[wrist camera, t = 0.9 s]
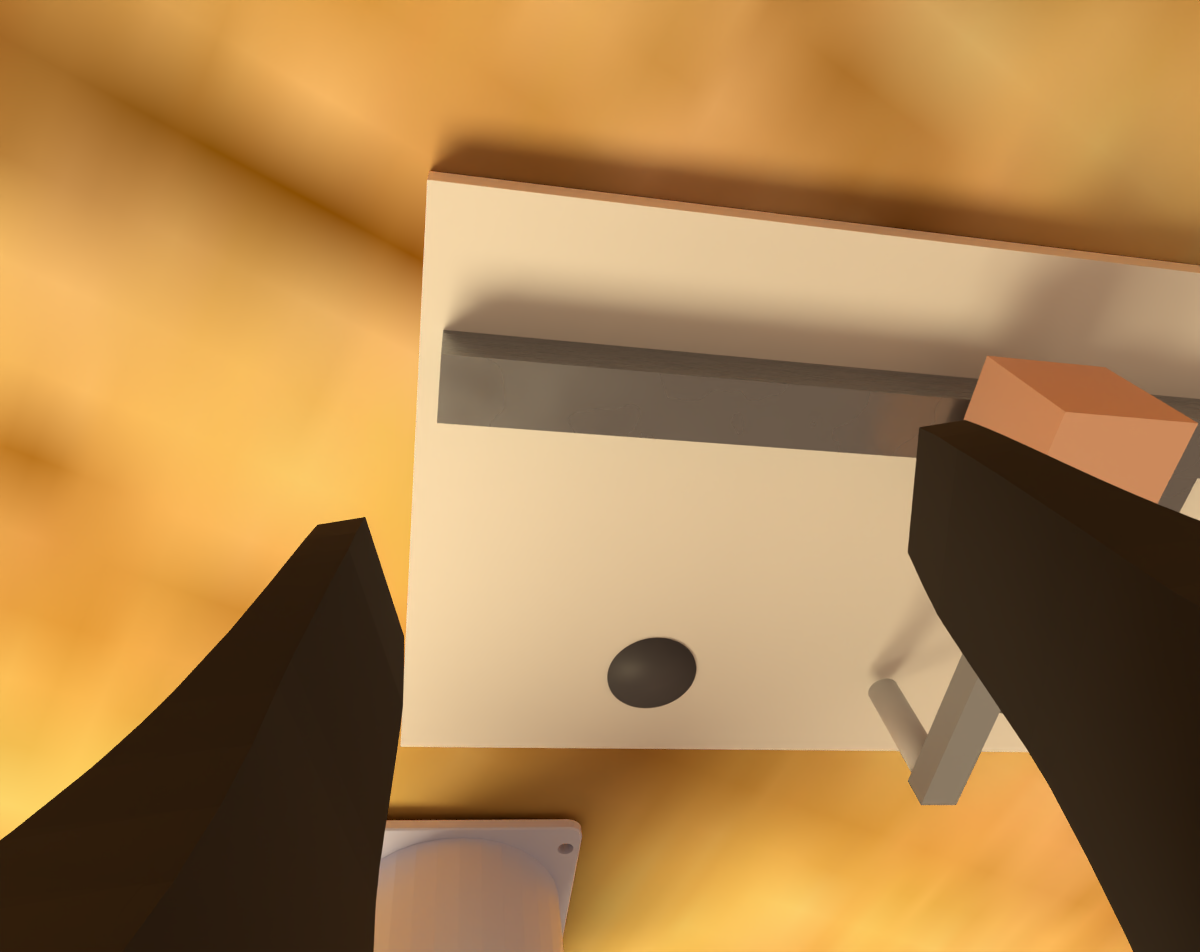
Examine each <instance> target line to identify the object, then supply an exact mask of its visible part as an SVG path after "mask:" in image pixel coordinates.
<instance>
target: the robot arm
mask: <svg viewBox="0 0 1200 952" xmlns="http://www.w3.org/2000/svg"><path fill="white" fill-rule="evenodd" d="M908 554H909V557H910V559H911V561H912V563H913V565H914V567H915V570H916V572H917V574H918V576H919V578H920V581H921V583H922V585H923V587H924V589H925V591H926V593H927V595H928V597H929V599H930V601H931V603H932V605H933V607H934V609H935V611H936V613H937V615H938V617H939V618H940V620H941V621H942V623H943V625H944V626H945V628H946V629H947V631H948V632H949V634H950V635H951V637H952V638H953V640H954V641H955V643H956V644H957V646H958V648H959V649H960V651H961V652H962V654H963V655H964V657H965V658H966V660H967V661H968V663H969V664H970V666H971V667H972V669H973V670H974V672H975V673H976V675H977V676H978V678H979V679H980V681H981V682H982V683H983V685H984V686H985V688H986V689H987V691H988V692H989V694H990V695H991V697H992V698H993V700H994V701H995V703H996V704H997V706H998V707H999V709H1000V710H1001V712H1002V713H1003V715H1004V716H1005V718H1006V719H1007V721H1008V722H1009V724H1010V725H1011V727H1012V728H1013V730H1014V731H1015V732H1016V734H1017V735H1018V737H1019V738H1020V740H1021V741H1022V743H1023V744H1024V746H1025V747H1026V749H1027V750H1028V752H1029V753H1030V755H1031V757H1032V758H1033V760H1034V762H1035V763H1036V765H1037V766H1038V768H1039V770H1040V771H1041V773H1042V775H1043V776H1044V778H1045V780H1046V781H1047V783H1048V784H1049V786H1050V788H1051V790H1052V792H1053V794H1054V796H1055V797H1056V799H1057V801H1058V803H1059V805H1060V807H1061V809H1062V811H1063V813H1064V814H1065V816H1066V818H1067V820H1068V822H1069V824H1070V826H1071V828H1072V830H1073V831H1074V833H1075V835H1076V837H1077V839H1078V841H1079V843H1080V845H1081V847H1082V849H1083V850H1084V852H1085V854H1086V856H1087V858H1088V860H1089V862H1090V864H1091V866H1092V868H1093V870H1094V872H1095V874H1096V876H1097V878H1098V880H1099V882H1100V884H1101V886H1102V888H1103V890H1104V892H1105V894H1106V896H1107V898H1108V900H1109V902H1110V904H1111V906H1112V908H1113V910H1114V913H1115V915H1116V917H1117V919H1118V921H1119V923H1120V925H1121V927H1122V929H1123V931H1124V933H1125V935H1126V937H1127V939H1128V941H1129V943H1130V946H1131V948H1132V950H1133V952H1200V521H1199V520H1197V519H1194V518H1192V517H1189V516H1187V515H1184V514H1182V513H1179V512H1177V511H1174V510H1172V509H1169V508H1167V507H1164V506H1161V505H1159V504H1156V503H1154V502H1152V501H1149V500H1147V499H1145V498H1142V497H1140V496H1137V495H1135V494H1133V493H1130V492H1128V491H1126V490H1123V489H1121V488H1119V487H1117V486H1114V485H1112V484H1110V483H1107V482H1105V481H1103V480H1101V479H1098V478H1096V477H1094V476H1092V475H1090V474H1087V473H1085V472H1083V471H1081V470H1079V469H1076V468H1074V467H1072V466H1070V465H1068V464H1065V463H1063V462H1061V461H1059V460H1057V459H1055V458H1052V457H1050V456H1048V455H1046V454H1044V453H1042V452H1039V451H1037V450H1035V449H1033V448H1031V447H1029V446H1026V445H1024V444H1022V443H1020V442H1018V441H1016V440H1013V439H1011V438H1009V437H1007V436H1004V435H1002V434H1000V433H998V432H995V431H993V430H991V429H988V428H986V427H983V426H981V425H978V424H975V423H973V422H970V421H967V420H961V421H955V422H949V423H943V424H937V425H930V426H924V427H919V434H918V445H917V455H916V466H915V477H914V488H913V499H912V510H911V520H910V531H909V542H908ZM403 690H404V635H403V632H402V629H401V626H400V623H399V620H398V616H397V613H396V610H395V607H394V604H393V601H392V598H391V595H390V592H389V589H388V586H387V583H386V580H385V576H384V573H383V570H382V567H381V564H380V561H379V558H378V555H377V552H376V549H375V546H374V543H373V540H372V536H371V533H370V530H369V527H368V524H367V521H366V518H365V517H363V518H357V519H351V520H344V521H338V522H332V523H326V524H320V525H317V526H316V527H315V528H314V530H313V531H312V532H311V533H310V534H309V535H308V536H307V538H306V539H305V540H304V541H303V542H302V544H301V545H300V546H299V547H298V549H297V550H296V551H295V552H294V554H293V555H292V556H291V557H290V559H289V560H288V561H287V562H286V563H285V565H284V566H283V567H282V568H281V570H280V571H279V572H278V573H277V575H276V576H275V577H274V578H273V580H272V581H271V582H270V583H269V585H268V586H267V587H266V588H265V589H264V591H263V592H262V593H261V594H260V595H259V597H258V598H257V599H256V600H255V601H254V603H253V604H252V605H251V606H250V607H249V608H248V610H247V611H246V612H245V613H244V614H243V616H242V617H241V618H240V619H239V620H238V622H237V623H236V624H235V625H234V626H233V628H232V629H231V630H230V631H229V632H228V633H227V634H226V635H225V636H224V638H223V639H222V640H221V641H220V642H219V643H218V644H217V645H216V646H215V647H214V648H213V649H212V651H211V652H210V653H209V654H208V655H207V656H206V657H205V658H204V659H203V660H202V661H201V662H200V664H199V665H198V666H197V667H196V668H195V669H194V670H193V671H192V672H191V673H190V674H189V675H188V677H187V678H186V679H185V680H184V681H183V682H182V683H181V684H180V685H179V686H178V687H177V688H176V689H175V690H174V691H173V692H172V693H171V694H170V695H169V696H168V697H167V698H166V699H165V701H164V702H163V703H162V704H161V705H159V706H158V707H157V708H156V709H155V710H154V711H153V712H152V713H151V714H150V715H149V716H148V717H147V718H146V719H145V720H144V721H143V722H142V723H141V724H140V725H139V726H137V727H136V728H135V729H134V730H133V731H132V732H131V733H130V734H129V735H128V736H126V737H125V738H124V739H123V740H122V741H121V742H120V743H119V744H118V745H117V746H115V747H114V748H113V749H112V750H111V751H110V752H109V753H108V754H107V755H106V756H104V757H103V758H102V759H101V760H100V761H99V762H97V763H96V764H95V765H94V766H93V767H92V768H91V769H89V770H88V771H87V772H86V773H84V774H83V775H82V776H81V777H79V778H78V779H77V780H76V781H74V782H73V783H72V784H71V785H69V786H68V787H67V788H66V789H64V790H63V791H62V792H61V793H59V794H58V795H57V796H56V797H55V798H53V799H52V800H51V801H50V802H48V803H47V804H46V805H45V806H43V807H42V808H41V809H40V810H38V811H37V812H36V813H35V814H33V815H32V816H31V817H30V818H28V819H27V820H26V821H25V822H23V823H22V824H21V825H20V826H18V827H17V828H16V829H15V830H13V831H12V832H11V833H9V834H8V835H7V836H5V837H4V838H3V839H1V840H0V952H564V951H563V940H562V939H563V934H564V929H565V924H566V918H567V913H568V908H569V903H570V898H571V892H572V887H573V882H574V877H575V872H576V866H577V861H578V856H579V851H580V845H581V840H582V832H581V825H580V824H579V823H578V822H576V821H574V820H570V819H520V820H387V814H388V807H389V801H390V794H391V787H392V781H393V774H394V767H395V761H396V753H397V746H398V739H399V732H400V725H401V718H402V710H403ZM566 843H567V844H566Z"/></svg>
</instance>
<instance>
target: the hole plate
mask: <svg viewBox="0 0 1200 952" xmlns="http://www.w3.org/2000/svg"><path fill="white" fill-rule="evenodd" d="M443 330H451V331H462V332H473V333H484V334H495V335H506V336H517V337H528V338H539V339H550V340H560V341H571V342H582V343H593V344H604V345H615V346H626V347H637V348H648V349H659V350H670V351H681V352H692V353H703V354H713V355H724V356H735V357H746V358H757V359H768V360H779V361H790V362H801V363H812V364H823V365H834V366H845V367H855V368H866V369H877V370H888V371H899V372H910V373H921V374H932V375H943V376H954V377H965V378H976V379H979V376H980V373H981V371H982V368H983V365H984V363H985V360H986V357H987V356H995V357H1006V358H1016V359H1026V360H1037V361H1047V362H1057V363H1068V364H1078V365H1088V366H1099V367H1106V368H1107V369H1109V370H1111V371H1112V372H1114V373H1116V374H1117V375H1119V376H1121V377H1122V378H1124V379H1126V380H1127V381H1129V382H1131V383H1132V384H1134V385H1136V386H1137V387H1139V388H1141V389H1142V390H1144V391H1146V392H1147V393H1149V394H1151V395H1161V396H1172V397H1183V398H1194V399H1200V265H1192V264H1184V263H1176V262H1168V261H1160V260H1151V259H1143V258H1135V257H1127V256H1119V255H1111V254H1102V253H1094V252H1086V251H1078V250H1070V249H1062V248H1054V247H1045V246H1037V245H1029V244H1021V243H1013V242H1005V241H997V240H988V239H980V238H972V237H964V236H956V235H948V234H940V233H931V232H923V231H915V230H907V229H899V228H891V227H883V226H874V225H866V224H858V223H850V222H842V221H834V220H826V219H817V218H809V217H801V216H793V215H785V214H777V213H769V212H760V211H752V210H744V209H736V208H728V207H720V206H712V205H703V204H695V203H687V202H679V201H671V200H663V199H655V198H646V197H638V196H630V195H622V194H614V193H606V192H598V191H589V190H581V189H573V188H565V187H557V186H549V185H541V184H532V183H524V182H516V181H508V180H500V179H492V178H484V177H475V176H467V175H459V174H451V173H443V172H435V171H429V175H428V179H427V198H426V219H425V240H424V261H423V283H422V304H421V325H420V346H419V367H418V389H417V410H416V431H415V452H414V474H413V495H412V516H411V537H410V559H409V580H408V601H407V622H406V643H405V665H404V690H403V710H402V728H401V747H494V748H611V749H728V750H845V751H899V749H898V748H897V746H896V744H895V742H894V740H893V739H892V737H891V735H890V733H889V731H888V730H887V728H886V726H885V724H884V722H883V721H882V719H881V717H880V715H879V714H878V712H877V710H876V708H875V706H874V705H873V703H872V701H871V699H870V697H869V695H868V691H869V688H870V687H871V685H872V684H873V683H875V682H876V681H878V680H881V679H885V678H888V679H892V680H894V681H895V682H896V683H897V685H898V686H899V688H900V690H901V691H902V693H903V695H904V696H905V698H906V700H907V701H908V703H909V704H910V706H911V708H912V709H913V711H914V713H915V714H916V716H917V718H918V719H919V721H920V723H921V724H922V726H923V727H924V729H925V731H926V732H927V734H928V733H929V730H930V728H931V726H932V723H933V721H934V719H935V716H936V714H937V712H938V709H939V707H940V705H941V702H942V700H943V698H944V695H945V693H946V691H947V688H948V686H949V684H950V681H951V679H952V677H953V674H954V672H955V670H956V667H957V665H958V663H959V660H960V658H961V656H962V652H961V651H960V649H959V648H958V646H957V644H956V643H955V641H954V640H953V638H952V637H951V635H950V634H949V632H948V631H947V629H946V628H945V626H944V625H943V623H942V621H941V620H940V618H939V617H938V615H937V613H936V611H935V609H934V607H933V605H932V603H931V601H930V599H929V597H928V595H927V593H926V591H925V589H924V587H923V585H922V583H921V581H920V578H919V576H918V574H917V572H916V570H915V567H914V565H913V563H912V561H911V559H910V557H909V554H908V542H909V531H910V520H911V510H912V499H913V488H914V477H915V466H916V458H910V457H896V456H882V455H869V454H855V453H841V452H827V451H814V450H800V449H786V448H773V447H759V446H745V445H731V444H718V443H704V442H690V441H677V440H663V439H649V438H635V437H622V436H608V435H594V434H581V433H567V432H553V431H539V430H526V429H512V428H498V427H484V426H471V425H457V424H443V423H437V412H438V396H439V379H440V362H441V348H442V337H443ZM1179 513H1182V514H1184V515H1187V516H1189V517H1192V518H1194V519H1197V520H1199V521H1200V479H1198V478H1197V480H1196V482H1195V484H1194V486H1193V488H1192V490H1191V491H1190V493H1189V495H1188V497H1187V499H1186V501H1185V503H1184V505H1183V507H1182V509H1181V511H1180V512H1179ZM981 752H1028V750H1027V749H1026V747H1025V746H1024V744H1023V743H1022V741H1021V740H1020V738H1019V737H1018V735H1017V734H1016V732H1015V731H1014V730H1013V728H1012V727H1011V725H1010V724H1009V722H1008V721H1007V719H1006V718H1005V716H1004V715H1003V713H1002V712H1001V711H1000V713H999V715H998V717H997V719H996V721H995V723H994V725H993V727H992V730H991V732H990V734H989V736H988V738H987V740H986V742H985V744H984V747H983V749H982V751H981Z"/></svg>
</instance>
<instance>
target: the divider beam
mask: <svg viewBox="0 0 1200 952" xmlns="http://www.w3.org/2000/svg"><path fill="white" fill-rule="evenodd" d="M977 382H978V379H976V378H965V377H954V376H943V375H932V374H921V373H910V372H899V371H888V370H877V369H866V368H855V367H845V366H834V365H823V364H812V363H801V362H790V361H779V360H768V359H757V358H746V357H735V356H724V355H713V354H703V353H692V352H681V351H670V350H659V349H648V348H637V347H626V346H615V345H604V344H593V343H582V342H571V341H560V340H550V339H539V338H528V337H517V336H506V335H495V334H484V333H473V332H462V331H451V330H443V337H442V348H441V362H440V379H439V396H438V412H437V423H443V424H457V425H471V426H484V427H498V428H512V429H526V430H539V431H553V432H567V433H581V434H594V435H608V436H622V437H635V438H649V439H663V440H677V441H690V442H704V443H718V444H731V445H745V446H759V447H773V448H786V449H800V450H814V451H827V452H841V453H855V454H869V455H882V456H896V457H910V458H916V455H917V445H918V434H919V427H924V426H930V425H937V424H943V423H949V422H955V421H961V420H964V417H965V414H966V411H967V409H968V406H969V403H970V401H971V398H972V395H973V392H974V390H975V387H976V384H977ZM1150 395H1151V394H1150ZM1152 396H1154V397H1155V398H1157V399H1159V400H1160V401H1162V402H1164V403H1165V404H1167V405H1169V406H1170V407H1172V408H1174V409H1175V410H1177V411H1179V412H1180V413H1182V414H1184V415H1185V416H1187V417H1189V418H1190V419H1192V420H1194V421H1195V422H1197V423H1198V425H1197V427H1196V429H1195V431H1194V433H1193V435H1192V437H1191V439H1190V441H1189V443H1188V445H1187V447H1186V449H1185V451H1184V453H1183V455H1182V457H1181V459H1180V460H1179V462H1178V464H1177V466H1176V468H1175V470H1174V472H1173V474H1172V476H1171V478H1170V480H1169V482H1168V484H1167V486H1166V488H1165V490H1164V492H1163V494H1162V496H1161V498H1160V500H1159V502H1158V504H1159V505H1161V506H1164V507H1167V508H1169V509H1172V510H1174V511H1177V512H1180V511H1181V509H1182V507H1183V505H1184V503H1185V501H1186V499H1187V497H1188V495H1189V493H1190V491H1191V490H1192V488H1193V486H1194V484H1195V482H1196V480H1197V478H1198V479H1200V399H1194V398H1183V397H1172V396H1161V395H1152Z"/></svg>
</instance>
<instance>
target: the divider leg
mask: <svg viewBox="0 0 1200 952" xmlns="http://www.w3.org/2000/svg"><path fill="white" fill-rule="evenodd" d="M964 420H967V421H970V422H973V423H975V424H978V425H981V426H983V427H986V428H988V429H991V430H993V431H995V432H998V433H1000V434H1002V435H1004V436H1007V437H1009V438H1011V439H1013V440H1016V441H1018V442H1020V443H1022V444H1024V445H1026V446H1029V447H1031V448H1033V449H1035V450H1037V451H1039V452H1042V453H1044V454H1046V455H1048V456H1050V457H1052V458H1055V459H1057V460H1059V461H1061V462H1063V463H1065V464H1068V465H1070V466H1072V467H1074V468H1076V469H1079V470H1081V471H1083V472H1085V473H1087V474H1090V475H1092V476H1094V477H1096V478H1098V479H1101V480H1103V481H1105V482H1107V483H1110V484H1112V485H1114V486H1117V487H1119V488H1121V489H1123V490H1126V491H1128V492H1130V493H1133V494H1135V495H1137V496H1140V497H1142V498H1145V499H1147V500H1149V501H1152V502H1154V503H1156V504H1158V502H1159V500H1160V498H1161V496H1162V494H1163V492H1164V490H1165V488H1166V486H1167V484H1168V482H1169V480H1170V478H1171V476H1172V474H1173V472H1174V470H1175V468H1176V466H1177V464H1178V462H1179V460H1180V459H1181V457H1182V455H1183V453H1184V451H1185V449H1186V447H1187V445H1188V443H1189V441H1190V439H1191V437H1192V435H1193V433H1194V431H1195V429H1196V427H1197V425H1198V423H1197V422H1195V421H1194V420H1192V419H1190V418H1189V417H1187V416H1185V415H1184V414H1182V413H1180V412H1179V411H1177V410H1175V409H1174V408H1172V407H1170V406H1169V405H1167V404H1165V403H1164V402H1162V401H1160V400H1159V399H1157V398H1155V397H1154V396H1152V395H1150V394H1149V393H1147V392H1146V391H1144V390H1142V389H1141V388H1139V387H1137V386H1136V385H1134V384H1132V383H1131V382H1129V381H1127V380H1126V379H1124V378H1122V377H1121V376H1119V375H1117V374H1116V373H1114V372H1112V371H1111V370H1109V369H1107V368H1106V367H1099V366H1088V365H1078V364H1068V363H1057V362H1047V361H1037V360H1026V359H1016V358H1006V357H995V356H987V357H986V360H985V363H984V365H983V368H982V371H981V373H980V376H979V379H978V382H977V384H976V387H975V390H974V392H973V395H972V398H971V401H970V403H969V406H968V409H967V411H966V414H965V417H964ZM868 695H869V697H870V699H871V701H872V703H873V705H874V706H875V708H876V710H877V712H878V714H879V715H880V717H881V719H882V721H883V722H884V724H885V726H886V728H887V730H888V731H889V733H890V735H891V737H892V739H893V740H894V742H895V744H896V746H897V748H898V749H899V751H900V753H901V755H902V757H903V758H904V760H905V762H906V764H907V766H908V767H909V769H910V771H911V775H910V777H909V780H908V782H909V784H910V786H911V788H912V789H913V791H914V793H915V795H916V797H917V798H918V800H919V802H920V804H921V805H956V804H957V802H958V800H959V797H960V795H961V793H962V791H963V789H964V787H965V785H966V783H967V781H968V778H969V776H970V774H971V772H972V770H973V768H974V766H975V764H976V761H977V759H978V757H979V755H980V753H981V751H982V749H983V747H984V744H985V742H986V740H987V738H988V736H989V734H990V732H991V730H992V727H993V725H994V723H995V721H996V719H997V717H998V715H999V713H1000V711H1001V710H1000V709H999V707H998V706H997V704H996V703H995V701H994V700H993V698H992V697H991V695H990V694H989V692H988V691H987V689H986V688H985V686H984V685H983V683H982V682H981V681H980V679H979V678H978V676H977V675H976V673H975V672H974V670H973V669H972V667H971V666H970V664H969V663H968V661H967V660H966V658H965V657H964V655H963V654H962V656H961V658H960V660H959V663H958V665H957V667H956V670H955V672H954V674H953V677H952V679H951V681H950V684H949V686H948V688H947V691H946V693H945V695H944V698H943V700H942V702H941V705H940V707H939V709H938V712H937V714H936V716H935V719H934V721H933V723H932V726H931V728H930V730H929V733H928V734H927V732H926V731H925V729H924V727H923V726H922V724H921V723H920V721H919V719H918V718H917V716H916V714H915V713H914V711H913V709H912V708H911V706H910V704H909V703H908V701H907V700H906V698H905V696H904V695H903V693H902V691H901V690H900V688H899V686H898V685H897V683H896V682H895V681H894V680H892V679H888V678H885V679H881V680H878V681H876V682H875V683H873V684H872V685H871V687H870V688H869V691H868Z"/></svg>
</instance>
